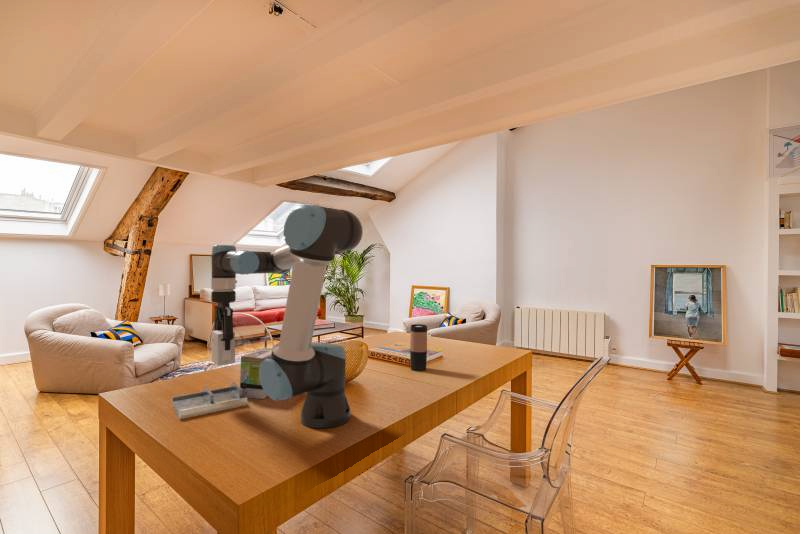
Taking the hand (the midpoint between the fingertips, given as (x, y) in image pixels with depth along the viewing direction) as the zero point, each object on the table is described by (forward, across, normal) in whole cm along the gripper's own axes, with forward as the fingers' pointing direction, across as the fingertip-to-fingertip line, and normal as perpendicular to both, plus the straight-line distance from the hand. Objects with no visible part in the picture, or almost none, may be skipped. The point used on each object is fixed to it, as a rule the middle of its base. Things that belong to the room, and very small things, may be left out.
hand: (223, 357), depth 131 cm
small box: (+2, 0, 0) cm, 2 cm away
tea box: (+16, +3, -15) cm, 22 cm away
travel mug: (+16, -8, -82) cm, 84 cm away
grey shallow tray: (+16, 0, +4) cm, 16 cm away
